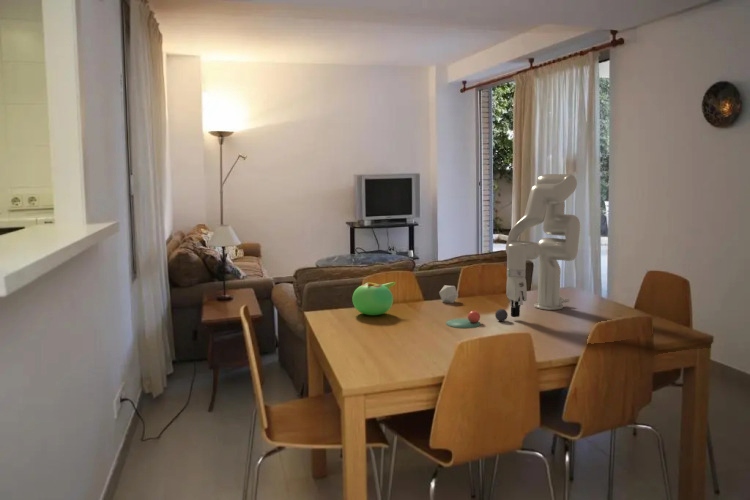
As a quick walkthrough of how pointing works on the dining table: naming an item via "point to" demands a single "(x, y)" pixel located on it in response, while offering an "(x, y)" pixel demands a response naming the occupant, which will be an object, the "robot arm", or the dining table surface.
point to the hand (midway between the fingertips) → (515, 316)
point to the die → (448, 294)
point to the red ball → (473, 316)
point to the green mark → (462, 323)
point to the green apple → (373, 298)
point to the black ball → (501, 315)
